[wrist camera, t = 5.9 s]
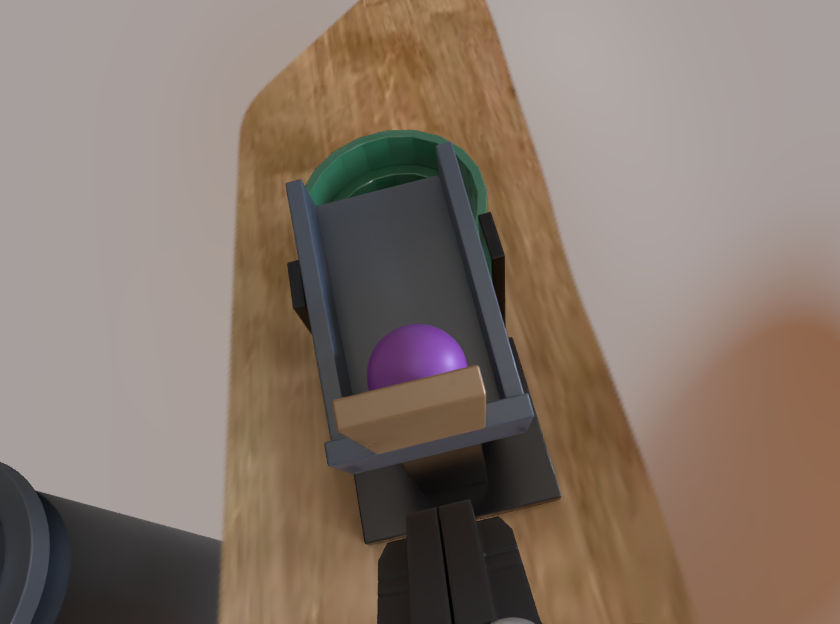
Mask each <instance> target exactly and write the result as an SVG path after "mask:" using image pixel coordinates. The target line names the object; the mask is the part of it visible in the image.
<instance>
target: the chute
mask: <svg viewBox="0 0 840 624" xmlns="http://www.w3.org/2000/svg"><path fill="white" fill-rule="evenodd" d="M435 148H436V155H437V163H438V171H439V175H437V176H434V177H430V178H426V179H422V180H418V181H414V182H410V183H406V184H402V185H398V186H394V187H390V188H386V189H382V190H378V191H374V192H370V193H366V194H362V195H358V196H354V197H350V198H346V199H342V200H339V201H335V202H331V203H327V204H323V205H319V206H315V204H314V202H313V200H312V198H311V196H310V195H309V193H308V191H307V189H306V187H305V185H304V183H303V182H302V180H296V181H292V182H289V183H286V191H287V196H288V202H289V208H290V213H291V219H292V224H293V230H294V236H295V241H296V247H297V252H298V258H299V264H300V269H301V275H302V281H303V286H304V292H305V297H306V303H307V309H308V314H309V320H310V326H311V331H312V337H313V342H314V348H315V354H316V359H317V365H318V370H319V376H320V382H321V387H322V393H323V399H324V404H325V410H326V415H327V421H328V427H329V432H330V438H331V441H329V442H326V443H325V444H324V445H325V451H326V457H327V463H328V466H329V467H332V468H335V469H338V470H342V471H345V472H348V473H351V474H357V473H361V472H365V471H369V470H373V469H378V468H382V467H386V466H390V465H394V464H398V463H402V462H406V461H410V460H415V459H419V458H423V457H427V456H431V455H435V454H439V453H443V452H447V451H451V450H456V449H460V448H464V447H468V446H472V445H476V444H480V443H484V442H488V441H493V440H497V439H501V438H505V437H509V436H513V435H517V434H521V433H525V432H526V431H527V429H528V427H529V425H530V423H531V421H532V419H533V417H534V413H533V409H532V406H531V402H530V399H529V396H528V394H527V393H525V394H524V392H523V389H522V385H521V382H520V378H519V375H518V371H517V368H516V364H515V361H514V357H513V354H512V350H511V347H510V343H509V340H508V336H507V333H506V329H505V326H504V322H503V319H502V315H501V312H500V308H499V305H498V301H497V298H496V294H495V291H494V287H493V284H492V280H491V277H490V273H489V270H488V266H487V263H486V259H485V256H484V252H483V249H482V245H481V242H480V238H479V235H478V232H477V228H476V225H475V221H474V218H473V214H472V211H471V207H470V204H469V200H468V197H467V193H466V190H465V186H464V183H463V179H462V176H461V172H460V169H459V165H458V162H457V158H456V155H455V151H454V148H453V144H452V142H447V143H443V144H439V145H436V147H435ZM410 324H425V325H431V326H434V327H437V328H439V329H441V330H443V331H445V332H446V333H447V334H449V335H450V336H451V337H452V338H453V339H454V340H455V341H456V342H457V343H458V344H459V346H460V347H461V349H462V351H463V352H464V355H465V357H466V360H467V364H468V367H465V368H461V369H457V370H453V371H449V372H445V373H441V374H436V375H432V376H428V377H424V378H420V379H416V380H412V381H408V382H404V383H400V384H396V385H392V386H388V387H384V388H380V389H375V390H371V391H369V388H368V383H367V367H368V362H369V359H370V356H371V354H372V352H373V350H374V348H375V347H376V345H377V344H378V343H379V342H380V340H381V339H382V338H383V337H385V336H386V335H387V334H388V333H390V332H391V331H393V330H395V329H397V328H399V327H402V326H405V325H410Z"/></svg>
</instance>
